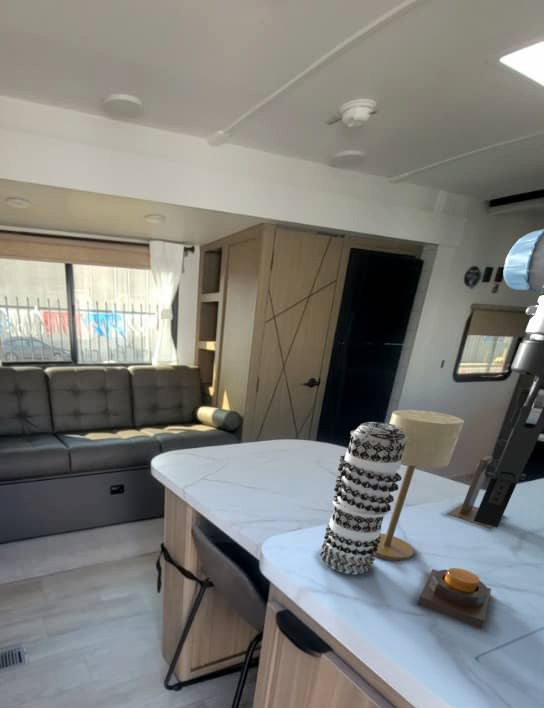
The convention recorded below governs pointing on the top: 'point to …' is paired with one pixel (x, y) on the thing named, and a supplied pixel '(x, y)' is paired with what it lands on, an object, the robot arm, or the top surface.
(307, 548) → the top surface
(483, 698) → the top surface
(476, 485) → the stand
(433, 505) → the top surface
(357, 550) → the decorative candle
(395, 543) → the lamp
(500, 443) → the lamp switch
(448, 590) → the button block
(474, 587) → the button
